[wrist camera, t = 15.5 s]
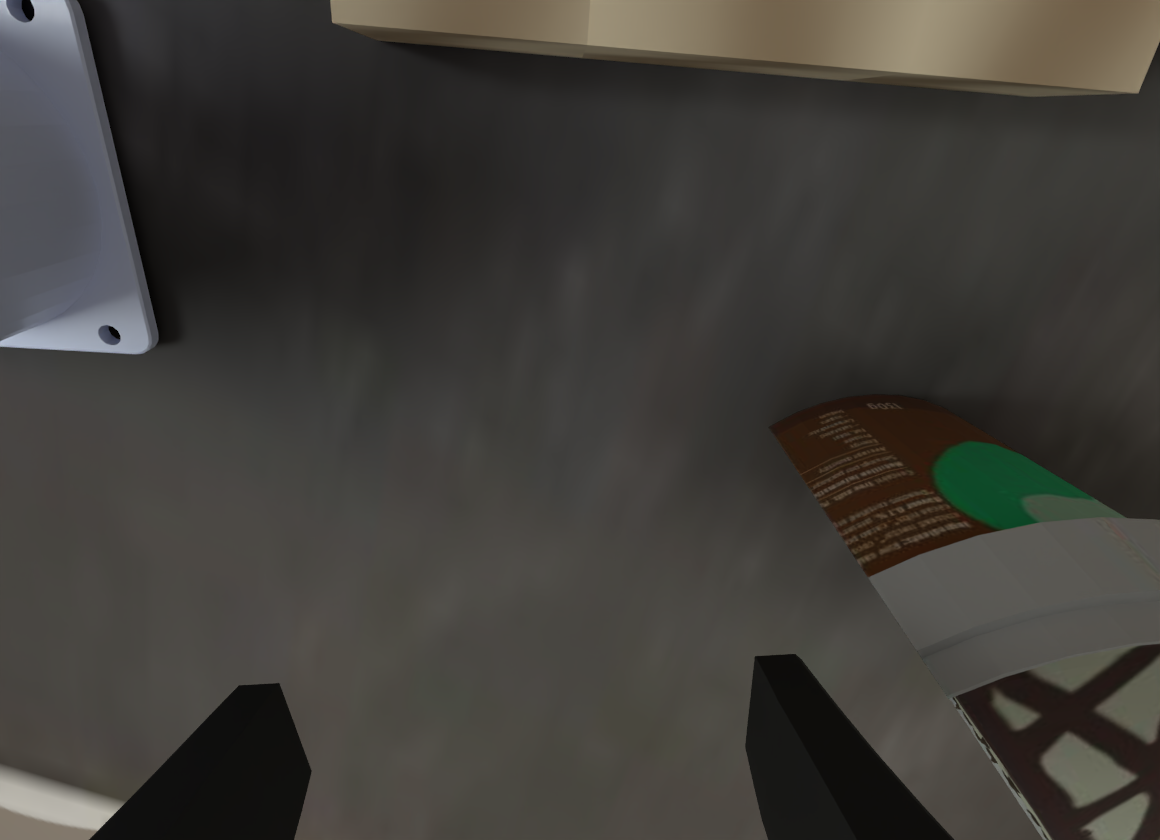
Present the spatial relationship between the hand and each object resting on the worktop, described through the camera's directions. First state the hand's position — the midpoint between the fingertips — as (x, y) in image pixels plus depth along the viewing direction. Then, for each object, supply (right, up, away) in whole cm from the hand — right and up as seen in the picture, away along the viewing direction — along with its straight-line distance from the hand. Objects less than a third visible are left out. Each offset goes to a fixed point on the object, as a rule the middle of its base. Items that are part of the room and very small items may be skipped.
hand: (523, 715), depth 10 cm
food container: (+12, +3, +10) cm, 15 cm away
